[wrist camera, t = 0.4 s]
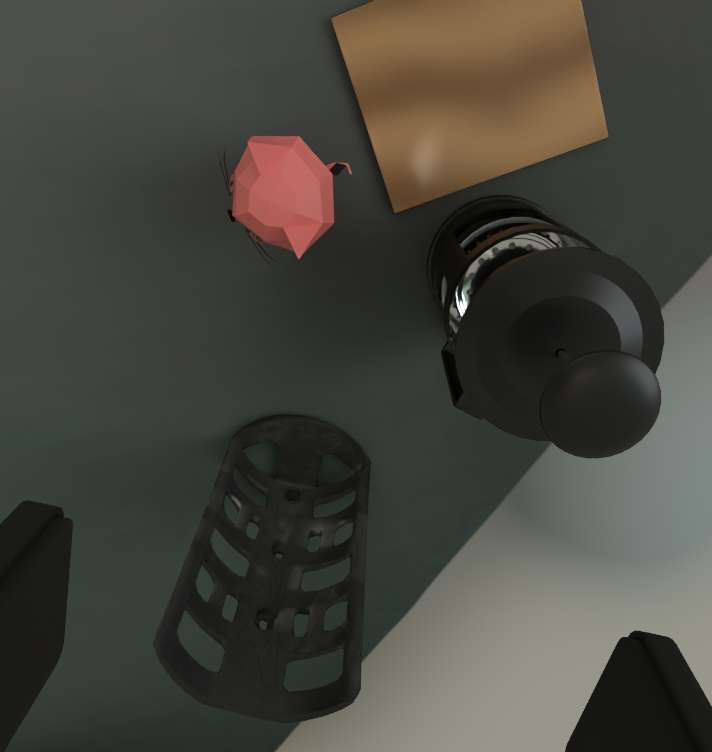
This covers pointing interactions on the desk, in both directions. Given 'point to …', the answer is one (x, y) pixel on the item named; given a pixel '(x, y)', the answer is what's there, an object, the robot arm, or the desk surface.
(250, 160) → the cat figurine
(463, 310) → the french press
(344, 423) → the desk surface
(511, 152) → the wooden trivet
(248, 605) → the holder
